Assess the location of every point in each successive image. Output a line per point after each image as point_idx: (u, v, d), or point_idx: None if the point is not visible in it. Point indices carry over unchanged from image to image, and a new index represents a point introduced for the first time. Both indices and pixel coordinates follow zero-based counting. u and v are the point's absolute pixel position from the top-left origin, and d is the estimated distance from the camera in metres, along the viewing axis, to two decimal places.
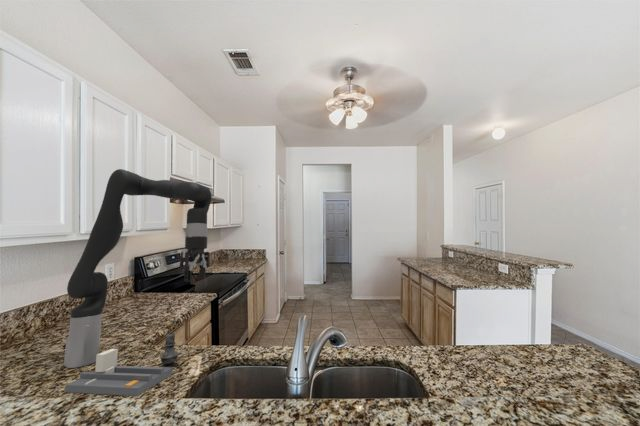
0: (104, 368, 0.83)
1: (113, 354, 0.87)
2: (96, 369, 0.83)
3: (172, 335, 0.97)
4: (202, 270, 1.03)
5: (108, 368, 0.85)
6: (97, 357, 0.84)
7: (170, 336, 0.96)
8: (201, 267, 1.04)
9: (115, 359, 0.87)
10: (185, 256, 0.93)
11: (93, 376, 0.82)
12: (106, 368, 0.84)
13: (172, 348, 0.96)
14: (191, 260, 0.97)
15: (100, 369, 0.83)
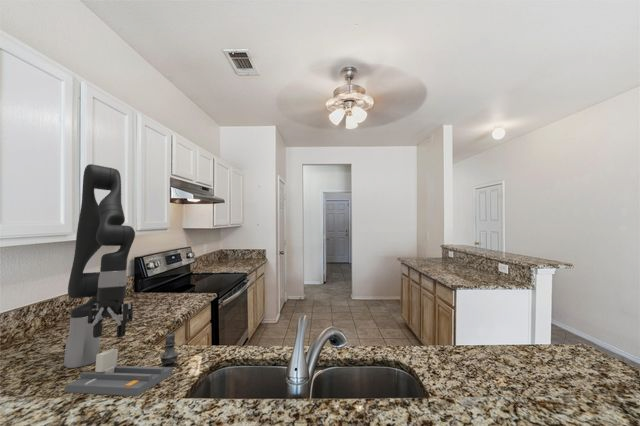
0: (104, 368, 0.83)
1: (113, 354, 0.87)
2: (96, 369, 0.83)
3: (172, 335, 0.97)
4: (99, 325, 0.88)
5: (108, 368, 0.85)
6: (97, 357, 0.84)
7: (170, 336, 0.96)
8: (97, 322, 0.88)
9: (115, 359, 0.87)
10: (131, 307, 0.88)
11: (93, 376, 0.82)
12: (106, 368, 0.84)
13: (172, 348, 0.96)
14: (118, 313, 0.88)
15: (100, 369, 0.83)
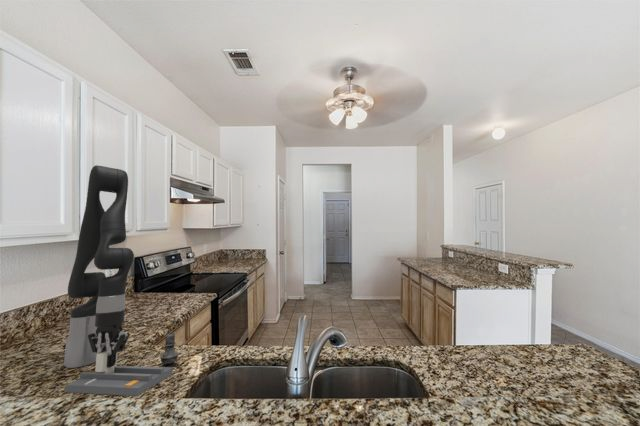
0: (104, 368, 0.83)
1: None
2: (96, 369, 0.83)
3: (172, 335, 0.97)
4: None
5: (108, 368, 0.85)
6: (97, 357, 0.84)
7: (170, 336, 0.96)
8: (102, 351, 0.86)
9: None
10: (126, 338, 0.86)
11: (93, 376, 0.82)
12: (106, 368, 0.84)
13: (172, 348, 0.96)
14: None
15: (100, 369, 0.83)
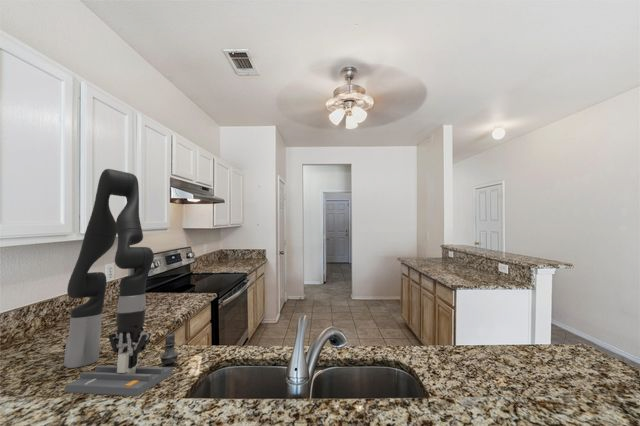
0: (126, 369, 0.82)
1: None
2: (118, 370, 0.82)
3: (172, 335, 0.97)
4: None
5: (129, 369, 0.84)
6: (119, 358, 0.82)
7: (170, 336, 0.96)
8: (123, 352, 0.85)
9: None
10: (147, 339, 0.85)
11: (93, 376, 0.82)
12: (128, 369, 0.83)
13: (172, 348, 0.96)
14: None
15: (122, 370, 0.82)
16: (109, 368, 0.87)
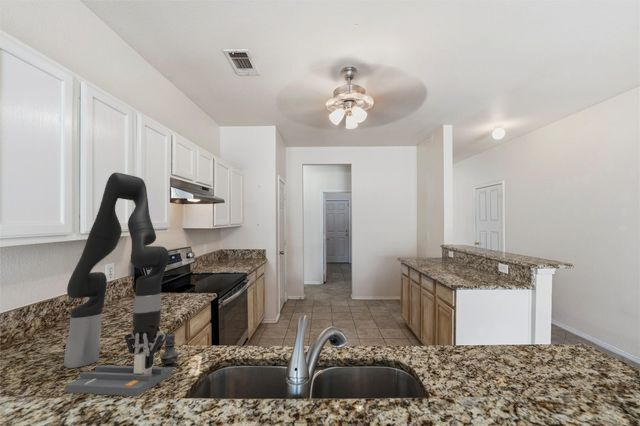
0: (142, 369, 0.81)
1: None
2: (134, 370, 0.81)
3: (172, 335, 0.97)
4: None
5: (146, 369, 0.83)
6: (135, 358, 0.82)
7: (170, 336, 0.96)
8: (140, 352, 0.84)
9: None
10: (164, 339, 0.84)
11: (93, 376, 0.82)
12: (144, 369, 0.82)
13: (172, 348, 0.96)
14: None
15: (139, 370, 0.81)
16: (109, 368, 0.87)
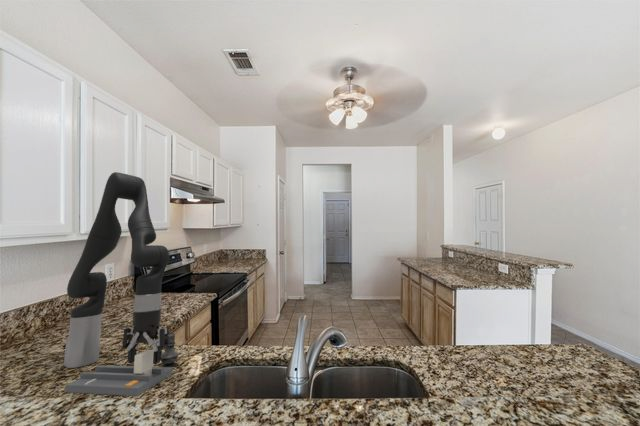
0: (142, 369, 0.81)
1: (150, 355, 0.85)
2: (134, 370, 0.81)
3: (172, 335, 0.97)
4: (134, 350, 0.85)
5: (146, 369, 0.83)
6: (135, 358, 0.82)
7: (170, 336, 0.96)
8: (132, 347, 0.85)
9: (152, 360, 0.85)
10: (167, 332, 0.84)
11: (93, 376, 0.82)
12: (144, 369, 0.82)
13: (172, 348, 0.96)
14: (154, 337, 0.84)
15: (139, 370, 0.81)
16: (109, 368, 0.87)
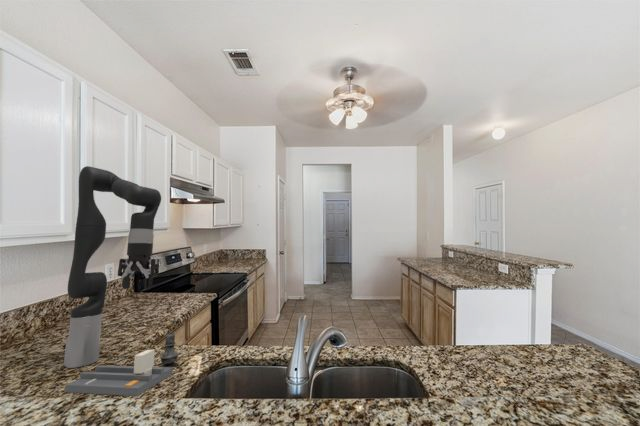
0: (142, 369, 0.81)
1: (150, 355, 0.85)
2: (134, 370, 0.81)
3: (172, 335, 0.97)
4: (128, 278, 0.95)
5: (146, 369, 0.83)
6: (135, 358, 0.82)
7: (170, 336, 0.96)
8: (126, 275, 0.95)
9: (152, 360, 0.85)
10: (157, 263, 0.95)
11: (93, 376, 0.82)
12: (144, 369, 0.82)
13: (172, 348, 0.96)
14: (146, 267, 0.95)
15: (139, 370, 0.81)
16: (109, 368, 0.87)
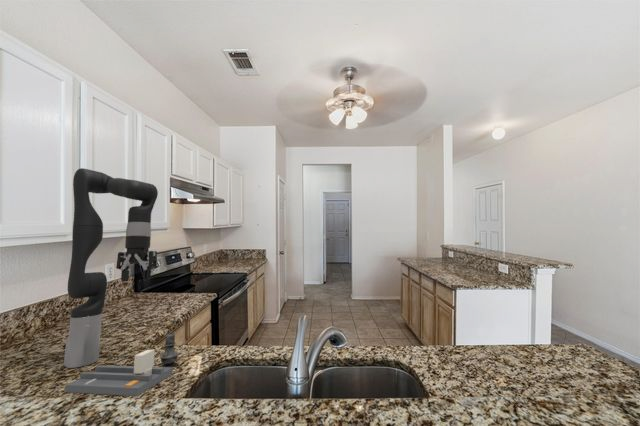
0: (142, 369, 0.81)
1: (150, 355, 0.85)
2: (134, 370, 0.81)
3: (172, 335, 0.97)
4: (127, 271, 0.97)
5: (146, 369, 0.83)
6: (135, 358, 0.82)
7: (170, 336, 0.96)
8: (125, 268, 0.97)
9: (152, 360, 0.85)
10: (155, 255, 0.97)
11: (93, 376, 0.82)
12: (144, 369, 0.82)
13: (172, 348, 0.96)
14: (144, 259, 0.97)
15: (139, 370, 0.81)
16: (109, 368, 0.87)
